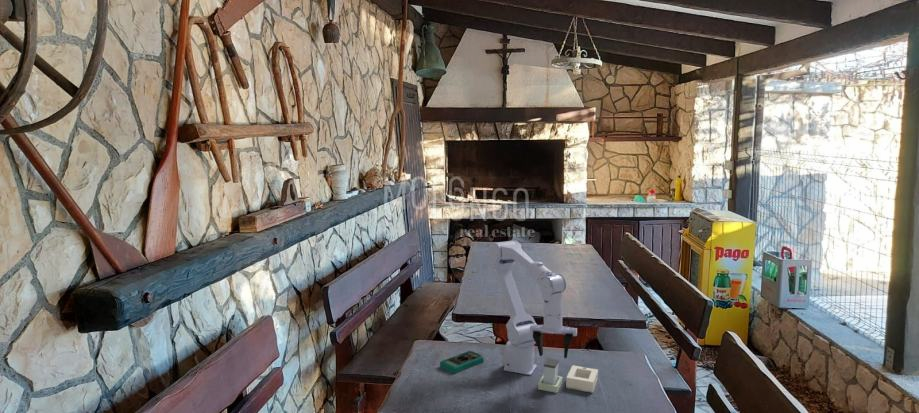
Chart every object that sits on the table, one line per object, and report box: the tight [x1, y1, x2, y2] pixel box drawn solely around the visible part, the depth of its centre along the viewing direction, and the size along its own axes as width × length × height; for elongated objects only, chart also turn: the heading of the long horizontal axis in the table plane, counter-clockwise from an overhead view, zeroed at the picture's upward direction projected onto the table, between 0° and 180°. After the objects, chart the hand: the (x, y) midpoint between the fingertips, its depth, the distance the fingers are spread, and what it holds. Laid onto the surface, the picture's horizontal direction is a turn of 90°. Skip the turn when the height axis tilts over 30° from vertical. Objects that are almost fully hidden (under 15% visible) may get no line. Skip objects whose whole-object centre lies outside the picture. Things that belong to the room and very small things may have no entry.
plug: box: [542, 357, 560, 385], centre depth 178 cm, size 4×5×8 cm
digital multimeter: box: [439, 350, 484, 375], centre depth 193 cm, size 7×15×3 cm, turn 134°
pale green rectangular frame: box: [537, 373, 564, 394], centre depth 178 cm, size 6×8×2 cm
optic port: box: [565, 364, 599, 394], centre depth 180 cm, size 8×10×4 cm
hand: (553, 356), depth 177 cm, fingers open, 7 cm apart
